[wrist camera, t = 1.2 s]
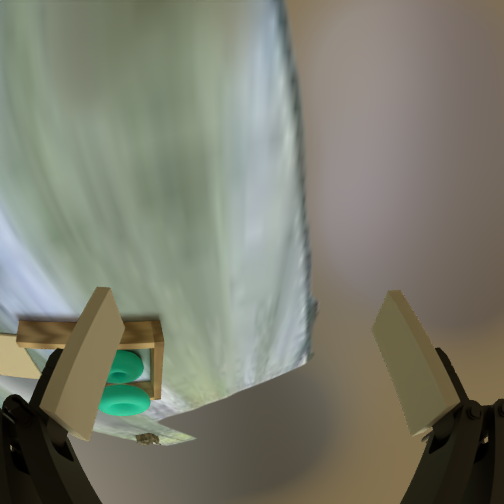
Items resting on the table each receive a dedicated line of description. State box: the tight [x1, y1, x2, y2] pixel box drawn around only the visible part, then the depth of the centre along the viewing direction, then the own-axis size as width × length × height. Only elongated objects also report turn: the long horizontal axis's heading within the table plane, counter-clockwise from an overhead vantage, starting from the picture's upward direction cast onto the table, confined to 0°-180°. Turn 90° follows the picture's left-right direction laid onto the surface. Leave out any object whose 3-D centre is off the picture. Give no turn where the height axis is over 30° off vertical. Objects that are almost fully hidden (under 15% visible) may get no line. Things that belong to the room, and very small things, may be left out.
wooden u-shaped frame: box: [16, 320, 164, 400], centre depth 39 cm, size 24×24×4 cm
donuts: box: [98, 350, 150, 416], centre depth 39 cm, size 10×10×10 cm
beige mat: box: [0, 333, 42, 379], centre depth 31 cm, size 14×16×1 cm
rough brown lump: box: [136, 434, 161, 446], centre depth 79 cm, size 11×8×4 cm
